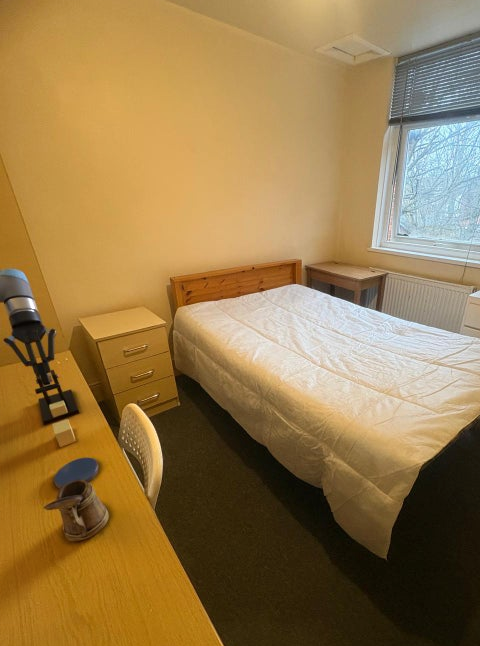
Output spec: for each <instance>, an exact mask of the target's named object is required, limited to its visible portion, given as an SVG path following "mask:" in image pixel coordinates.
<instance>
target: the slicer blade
mask: <svg viewBox="0 0 480 646" xmlns="http://www.w3.org/2000/svg"><path fill="white" fill-rule="evenodd" d="M47 375H48V378H49V381H50V384H49V385H44V386H45V387H41V388H40V387H38V388H35V389H34V392H35V394H36V395H39V394H43V392H46V391H47V392H50V391H52V390H57V388H60V387H61V388H62V386H61V384H60V382H59V383H54V380H53V378H52V375H51V373H47ZM51 383H52V384H51Z"/></svg>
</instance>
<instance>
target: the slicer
mask: <svg viewBox="0 0 480 646" xmlns="http://www.w3.org/2000/svg"><path fill="white" fill-rule="evenodd" d="M50 370H51V373H50V375H51V378H52V381H53V384H55V383H59V384H60V382H59V374H57V373H56V372H55V370H54V369H50ZM35 383H36V385H38V386H39V388H41V387H45V385H44V384H43V383H42V380H41V377H40V375H39V376H36V375H35ZM56 390H57V393H53V394H50V395H49V392H48V391H46V392H43V393H42V395H43V397H40V398H38V406H39V410H40V411H39V412H40V415H41V421H42V424H43V425H44V426H46V425H49V424H53V423H56V422H59V421H62V420H65V419H68V418H71V417H72V416H76V415H78V414H80V410H79V407H78V404H77V402H76V399H75V395H74V392H73V390H72V389H68V390H64V391H63V389H62V386H61V387H60V388H56ZM60 401H64V403H65V406H66V408H67V412H68V413H66V414H63V415H60V416H57V417H53V415H52V413H51V411H50V407H49V405H50V404H53V403H57V402H60Z"/></svg>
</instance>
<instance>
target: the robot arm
mask: <svg viewBox="0 0 480 646" xmlns="http://www.w3.org/2000/svg"><path fill="white" fill-rule="evenodd" d="M30 285H31V284H30V282H29V280H28V277H27V276H26V274H25V273H24V272H23V271H22V270H19V269H15V268H4V269H2V270H0V304H1V303H3V305H4V309H5V311H6V315H7V317H8V321H9V324H10V327H11V332H10V333H11V335H10V336H9V337H4V338H3V342H4V344H5V345H7V346H8V347H10V348H11V349H12V350H13V352H14V353H15V354H16V356H17V357H18V359H19V360H20V361H21V363H22V364H23V365H24V367H28V368H29V367H32V370H33V373H34V375H35V377H36V376H39V375H40V377H41V380H42V383H43V384H44V386H45V385H49V384H50V385H51V383H50V381H49V378H48V375H47V374H51V370H52V369H51V367H50V362H52V361H55V338H56V336H57V331H56V330H55V329H54V328H51V329H50V328H46V326H45V325H44V323H43V321H42V318H41V315H40V313H39V308H38V307H37V303H36V301H35V298H34V295H33V292H32V288H31V286H30ZM45 335H46V336H47V354H46V352H45V351H46V350H45V349H44V346H43V342H42V340H43V339H44V337H45ZM16 340H17V341H19V342H20V343H22V344H24V346H25V350H26V352H27V356H28V358H29V360H28V359H27V358H26V357H25V355H24V354H23V353H22V351H21V349H20V348H19V347H18V346H17V344H16V343H17V341H16ZM33 343H35V345H36V348H37V351H38V354H39V357H40V361H41V362H38V361H37V358H36V354H35V352H34V349H33V345H32V344H33Z"/></svg>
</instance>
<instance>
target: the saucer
mask: <svg viewBox="0 0 480 646" xmlns="http://www.w3.org/2000/svg"><path fill="white" fill-rule="evenodd" d="M99 466H100V465H99V464H98V461H97V460H96V459H95V458H93V457H80V458H77V459H74V460H72V461H69V462H67V463H66V464H65V465H63V466H62V467H60V468H59V469H58V471H57V472H56V473H55V475H54V477H53V482H54V484H55V486H56V488H58V489H59V490H60V489H61V488H62V487H63V486H64V485H65V484H67V483H69V482H71V481H74V480H78V479H82V480H86V481H87V482H88V483H89V482H90V481H92V480H93V479H94V478H95V477H96V475H97V473H98V472H99Z"/></svg>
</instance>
